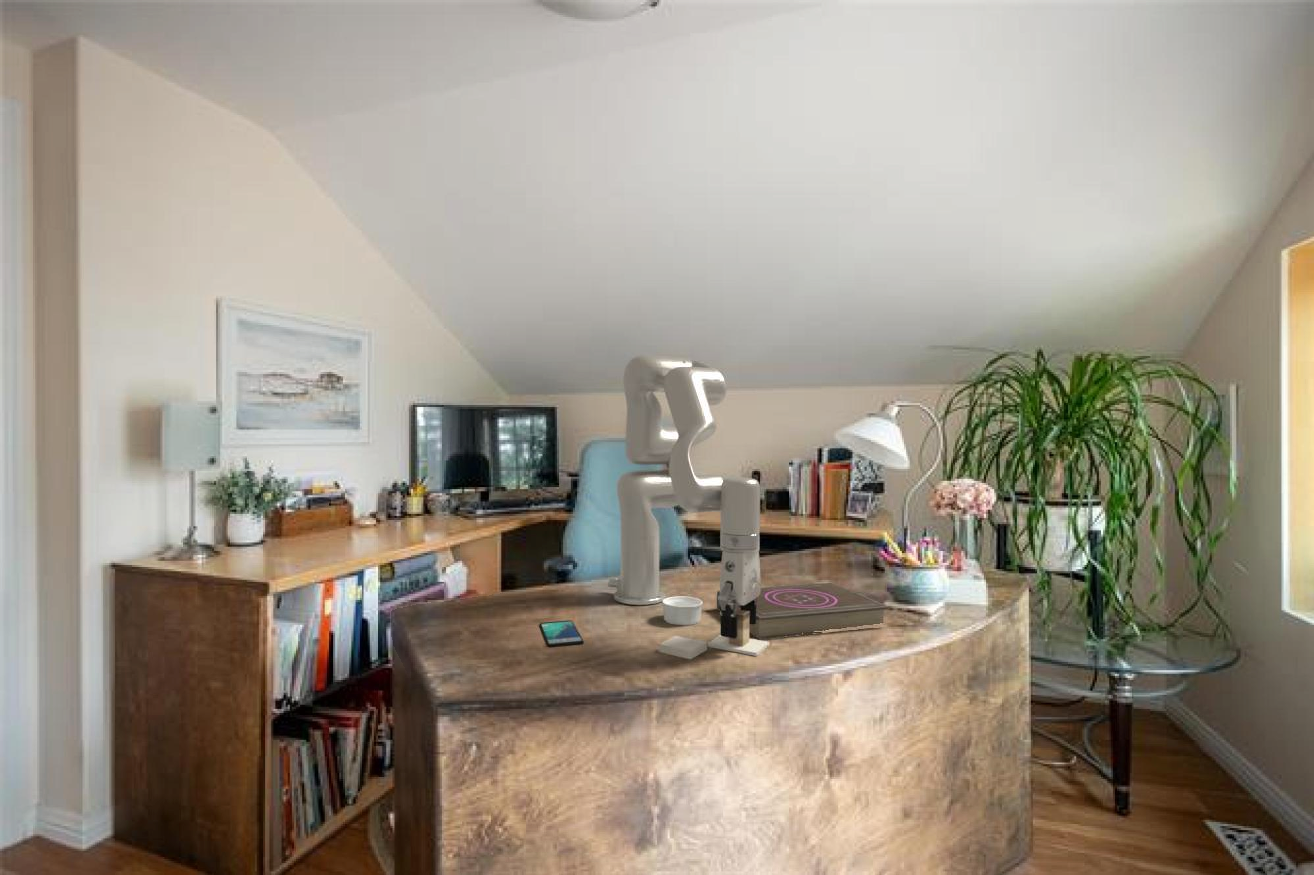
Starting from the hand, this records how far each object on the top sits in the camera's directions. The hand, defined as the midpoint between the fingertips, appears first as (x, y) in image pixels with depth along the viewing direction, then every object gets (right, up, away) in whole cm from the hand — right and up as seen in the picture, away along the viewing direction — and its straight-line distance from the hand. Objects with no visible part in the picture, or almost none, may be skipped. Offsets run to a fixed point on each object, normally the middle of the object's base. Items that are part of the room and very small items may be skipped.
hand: (738, 629), depth 123 cm
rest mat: (0, -3, 0) cm, 3 cm away
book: (+16, -4, +19) cm, 25 cm away
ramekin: (-10, -3, +16) cm, 20 cm away
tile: (-14, -2, -1) cm, 14 cm away
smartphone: (-35, -3, +6) cm, 36 cm away
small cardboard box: (0, -2, 0) cm, 2 cm away
